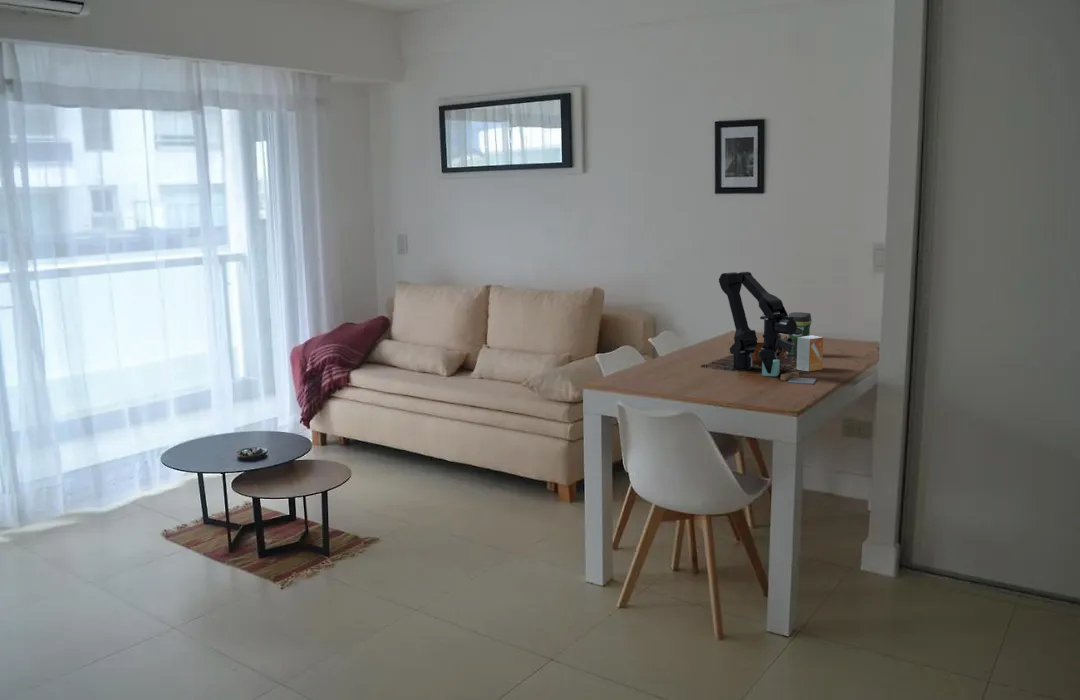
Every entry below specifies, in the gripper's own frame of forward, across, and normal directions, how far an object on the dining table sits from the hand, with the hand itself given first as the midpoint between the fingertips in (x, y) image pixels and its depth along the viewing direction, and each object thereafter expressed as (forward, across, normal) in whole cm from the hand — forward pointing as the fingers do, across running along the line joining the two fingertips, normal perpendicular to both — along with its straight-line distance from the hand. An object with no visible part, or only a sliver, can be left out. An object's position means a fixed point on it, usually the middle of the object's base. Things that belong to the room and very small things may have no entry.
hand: (770, 371), depth 344 cm
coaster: (+1, -8, -13) cm, 15 cm away
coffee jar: (+2, +46, -3) cm, 46 cm away
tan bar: (+1, -5, -8) cm, 9 cm away
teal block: (+1, 0, 0) cm, 1 cm away
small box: (+2, +16, -12) cm, 20 cm away
